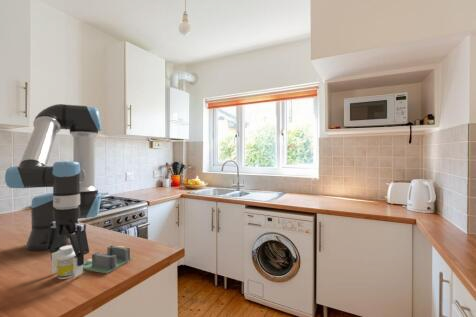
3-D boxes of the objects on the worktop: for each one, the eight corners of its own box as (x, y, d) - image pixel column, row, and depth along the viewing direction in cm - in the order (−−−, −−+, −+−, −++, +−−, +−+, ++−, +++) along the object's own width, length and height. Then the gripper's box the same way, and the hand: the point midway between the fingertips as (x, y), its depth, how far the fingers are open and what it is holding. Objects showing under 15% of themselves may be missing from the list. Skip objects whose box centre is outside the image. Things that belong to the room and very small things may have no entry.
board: (76, 268, 87) (76, 262, 87) (103, 254, 99) (103, 250, 99) (107, 273, 83) (107, 267, 83) (131, 259, 95) (131, 254, 95)
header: (92, 266, 87) (91, 254, 87) (112, 255, 96) (112, 245, 96) (112, 269, 85) (112, 257, 85) (131, 258, 94) (131, 247, 94)
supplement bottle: (63, 272, 84) (63, 244, 84) (80, 271, 85) (80, 244, 85) (53, 280, 79) (53, 250, 79) (70, 279, 79) (70, 250, 79)
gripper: (31, 207, 81) (31, 273, 81) (82, 211, 75) (82, 283, 75) (54, 202, 88) (54, 263, 88) (101, 206, 82) (101, 272, 82)
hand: (67, 272), depth 82 cm, fingers open, 9 cm apart
